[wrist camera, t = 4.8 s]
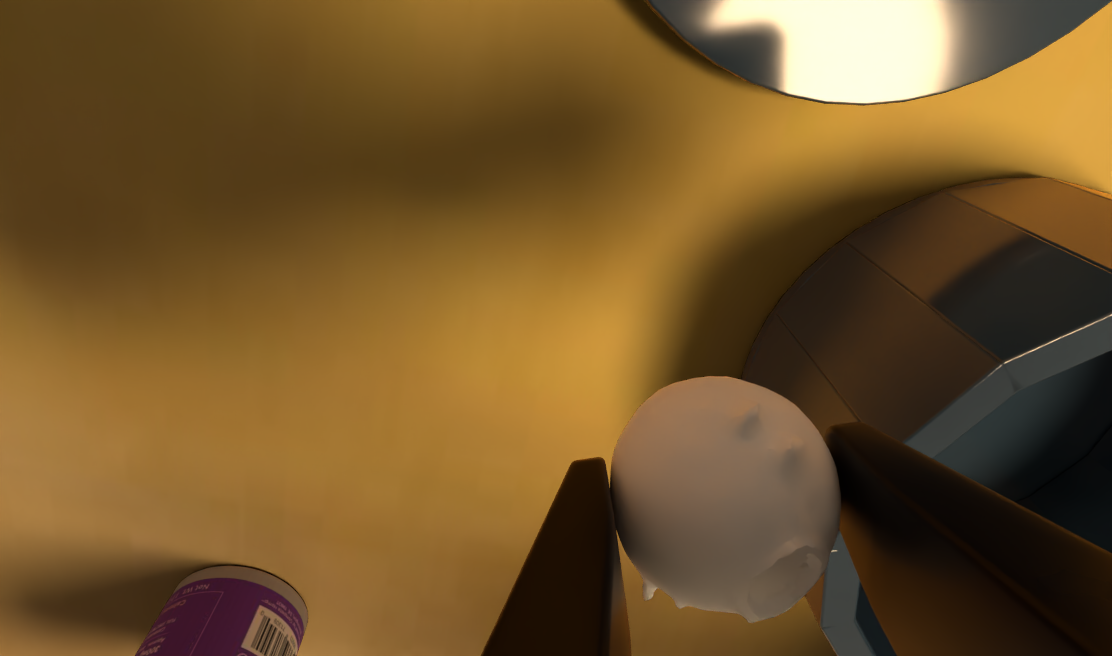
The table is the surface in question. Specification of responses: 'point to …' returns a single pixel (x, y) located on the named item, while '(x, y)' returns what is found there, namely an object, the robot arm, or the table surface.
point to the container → (229, 616)
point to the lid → (869, 42)
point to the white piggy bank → (725, 497)
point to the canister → (960, 356)
